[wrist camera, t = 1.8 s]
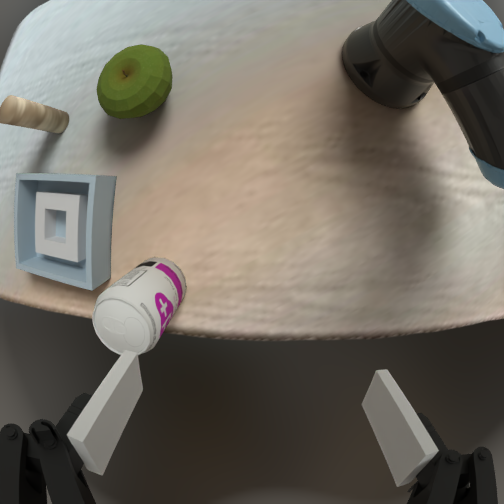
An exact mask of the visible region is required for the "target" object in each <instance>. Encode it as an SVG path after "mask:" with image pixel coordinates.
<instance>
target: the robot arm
mask: <svg viewBox="0 0 504 504" xmlns="http://www.w3.org/2000/svg"><path fill="white" fill-rule="evenodd" d="M342 56H343V62H344V66H345V68H346V70H347V73H348V74H349V76H350V78H351V79H352V81H353V82H354V83H355V84H356V86H357V87H358V88H359V89H360V90H361V91H362V92H363V93H364V94H366V95H367V96H368V97H370V98H371V99H373V100H374V101H376V102H378V103H380V104H382V105H384V106H387V107H391V108H406V107H410V106H412V105H414V104H416V103H418V102H420V101H421V100H422V99H423V98H424V97H425V96H426V94H427V93H428V91H429V90H430V88H431V86H432V85H433V83H434V82H435V84H436V85H437V87H438V88H439V90H440V92H441V93H442V95H443V97H444V98H445V100H446V102H447V104H448V105H449V107H450V109H451V111H452V113H453V114H454V116H455V118H456V120H457V122H458V124H459V126H460V128H461V130H462V132H463V134H464V136H465V138H466V140H467V143H468V145H469V150H470V152H471V154H472V155H473V156H474V157H475V159H476V161H477V164H478V166H479V168H480V170H481V173H482V174H483V176H484V177H485V178H486V179H487V180H489V181H490V182H491V183H492V184H493V185H495V186H497V187H499V188H502V189H504V30H503V26H502V24H501V22H500V21H499V19H498V18H497V16H496V15H495V14H494V12H493V11H492V10H491V9H490V8H489V7H488V6H487V4H486V3H485V2H484V1H483V0H392V1H391V2H390V4H389V5H388V6H387V7H386V9H385V10H384V11H383V12H382V14H381V15H380V16H379V17H378V19H377V20H376V21H374V22H371V23H369V24H367V25H365V26H362V27H359V28H357V29H355V30H354V31H353V32H352V33H351V34H350V35H349V37H348V38H347V40H346V41H345V43H344V46H343V51H342ZM142 391H143V387H142V381H141V375H140V367H139V360H138V353H136V352H132V351H127V350H125V351H124V352H123V353H122V355H121V356H120V358H119V359H118V360H117V362H116V363H115V364H114V366H113V367H112V369H111V370H110V372H109V373H108V374H107V376H106V377H105V379H104V380H103V381H102V383H101V384H100V386H99V387H98V389H97V390H96V392H95V393H94V395H93V396H91V395H88V394H86V393H83V394H81V395H80V396H78V397H77V398H76V399H75V400H74V401H73V403H72V404H71V406H70V407H69V408H68V410H67V412H66V413H65V414H64V415H63V417H62V418H61V419H60V421H59V423H58V424H57V425H56V427H55V426H54V424H53V423H52V422H50V421H48V420H43V419H40V420H37V421H35V422H33V423H32V424H31V426H30V427H29V433H30V434H27V433H24V432H23V431H22V429H21V428H20V427H19V426H18V425H16V424H7V425H5V426H4V427H3V428H2V429H1V431H0V504H47V494H46V486H47V489H48V492H49V495H50V498H51V501H52V504H96V502H95V500H94V498H93V496H92V493H91V491H90V489H89V486H88V484H87V482H86V479H85V477H84V474H83V472H82V470H81V468H82V466H83V464H84V465H85V466H86V468H87V469H88V470H90V471H92V472H95V473H97V474H100V475H103V473H104V471H105V468H106V466H107V464H108V462H109V460H110V457H111V455H112V453H113V451H114V449H115V447H116V444H117V442H118V440H119V438H120V436H121V434H122V431H123V429H124V427H125V425H126V423H127V421H128V419H129V417H130V415H131V413H132V411H133V409H134V407H135V405H136V403H137V401H138V399H139V397H140V394H141V392H142ZM362 406H363V409H364V411H365V413H366V415H367V417H368V420H369V422H370V424H371V426H372V428H373V431H374V433H375V435H376V438H377V440H378V442H379V445H380V447H381V449H382V452H383V454H384V456H385V459H386V461H387V463H388V466H389V468H390V470H391V473H392V475H393V478H394V480H395V483H396V485H397V487H398V486H401V485H404V484H408V483H410V482H411V481H412V480H413V479H414V478H415V477H417V480H418V481H417V482H416V483H415V484H414V485H413V486H412V487H411V488H410V489H409V490H408V492H410V491H411V490H412V489H413V491H412V493H411V496H410V498H409V500H408V502H407V504H498V500H497V488H496V479H495V472H494V465H493V459H492V454H491V452H490V451H489V450H488V449H487V448H485V447H478V448H477V449H475V450H474V452H473V453H472V454H467V455H461V454H459V453H458V452H457V451H455V450H448V449H447V448H446V446H445V444H444V443H443V441H442V439H441V438H440V436H439V435H438V433H437V432H436V431H435V429H434V427H433V426H432V424H431V422H430V421H429V419H428V418H427V417H426V416H424V415H423V414H422V413H418V414H416V413H415V411H414V410H413V408H412V406H411V405H410V403H409V402H408V400H407V399H406V397H405V396H404V394H403V393H402V391H401V389H400V388H399V386H398V385H397V383H396V382H395V381H394V379H393V377H392V376H391V375H390V373H389V371H388V370H376V372H375V375H374V377H373V379H372V382H371V384H370V387H369V389H368V392H367V393H366V396H365V398H364V400H363V403H362ZM469 483H470V487H469Z"/></svg>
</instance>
